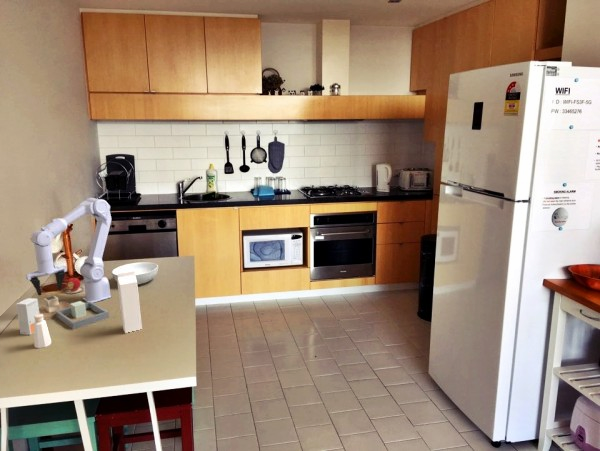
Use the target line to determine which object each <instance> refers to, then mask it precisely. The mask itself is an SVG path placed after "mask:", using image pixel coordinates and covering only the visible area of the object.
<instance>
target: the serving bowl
mask: <svg viewBox="0 0 600 451" xmlns="http://www.w3.org/2000/svg"><path fill="white" fill-rule="evenodd" d="M158 270H159V265H158V264H157V263H154V262H150V261H148V262H146V261H143V262H133V263H125V264H124V265H123V264H122V265H119V266H118V267H115V268H114V269H113V270H112V271H111V273H112V274H111V275H112V277H113V279H114V280H115V281H116V282H117V279H118V274H120V273H126V272H132V271H134V272H135V276H136V280H137V286H138V285H142V284H146V283H148V282H150V281H151V280H153V279H154V278H155V277H156V276H157V274H158Z"/></svg>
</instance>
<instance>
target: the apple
mask: <svg viewBox="0 0 600 451" xmlns="http://www.w3.org/2000/svg"><path fill="white" fill-rule="evenodd" d="M66 287H67V289H66V290H64V292H65V293H67V294H76V293H80V292H82V291H85V286H84V287H83V286H81V281H80V279H78V278H77V277H70V278H69V279H68V280H67V281H66Z"/></svg>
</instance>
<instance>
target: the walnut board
mask: <svg viewBox="0 0 600 451" xmlns="http://www.w3.org/2000/svg"><path fill="white" fill-rule="evenodd" d="M70 304H71V303H68V302H67V301H65V300H64V301H63V300H62V301H59V307H60V310H63V309H66V308H70V307H71V306H70ZM57 311H59V310H57ZM39 314H43V318H44V320H45V321H47V320H50V319H51V320H52V319H54V318H57V315H56V311H54V312H50V313H49V312H48V311H46V310H45V306H42V307H39Z"/></svg>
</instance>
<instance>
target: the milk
mask: <svg viewBox="0 0 600 451" xmlns="http://www.w3.org/2000/svg"><path fill="white" fill-rule="evenodd" d="M116 282H117V283H116V284H117V288H118V289H117V292H118V299H119V308H120V315H121V324H122V325H121V326H122V328H123V329H122V330H123V332H124V333H125V334H129V333H128V332H130V333H133V332H132V331H135V332H137V331H136V330H139V331H141V330H140V329H142V330H143V324H142V323H143V322H142V317H141V316H142V315H141V307H140V305H141V304H140V295H139V289H138V285H137V280H136V276H135V272H134V271H132V272H126V273H120V274H118V279H117V281H116Z"/></svg>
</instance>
